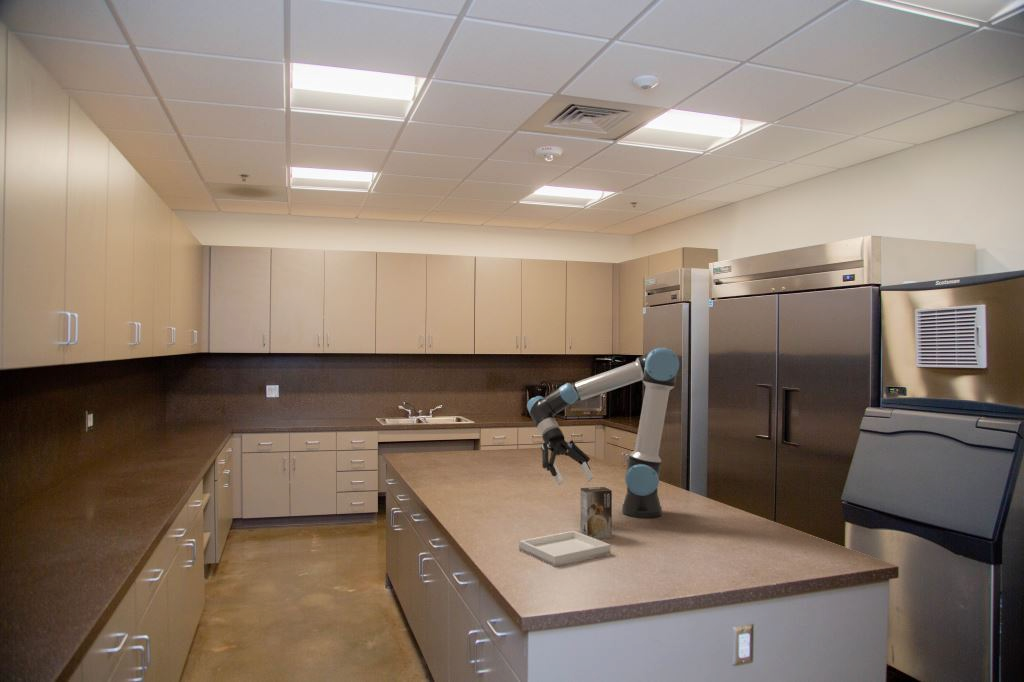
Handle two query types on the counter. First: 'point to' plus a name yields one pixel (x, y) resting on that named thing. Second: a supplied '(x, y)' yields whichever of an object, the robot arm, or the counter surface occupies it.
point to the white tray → (564, 548)
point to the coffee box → (596, 512)
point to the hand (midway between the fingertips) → (576, 481)
